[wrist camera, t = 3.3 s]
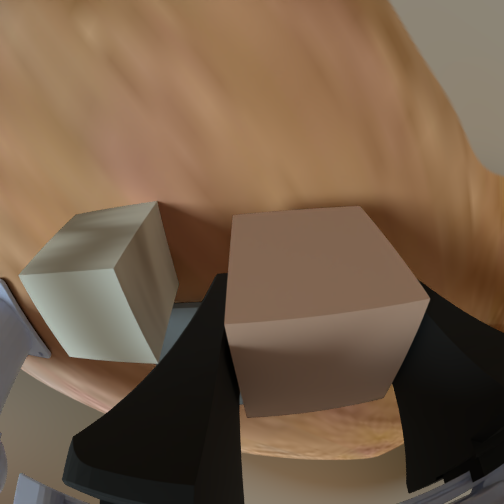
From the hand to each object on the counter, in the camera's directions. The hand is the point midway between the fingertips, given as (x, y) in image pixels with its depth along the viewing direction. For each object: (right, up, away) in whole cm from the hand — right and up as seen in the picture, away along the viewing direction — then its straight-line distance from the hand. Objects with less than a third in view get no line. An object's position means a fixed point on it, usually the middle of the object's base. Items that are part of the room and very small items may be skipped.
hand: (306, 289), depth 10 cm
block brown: (0, +1, +1) cm, 2 cm away
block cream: (-8, +1, +3) cm, 9 cm away
